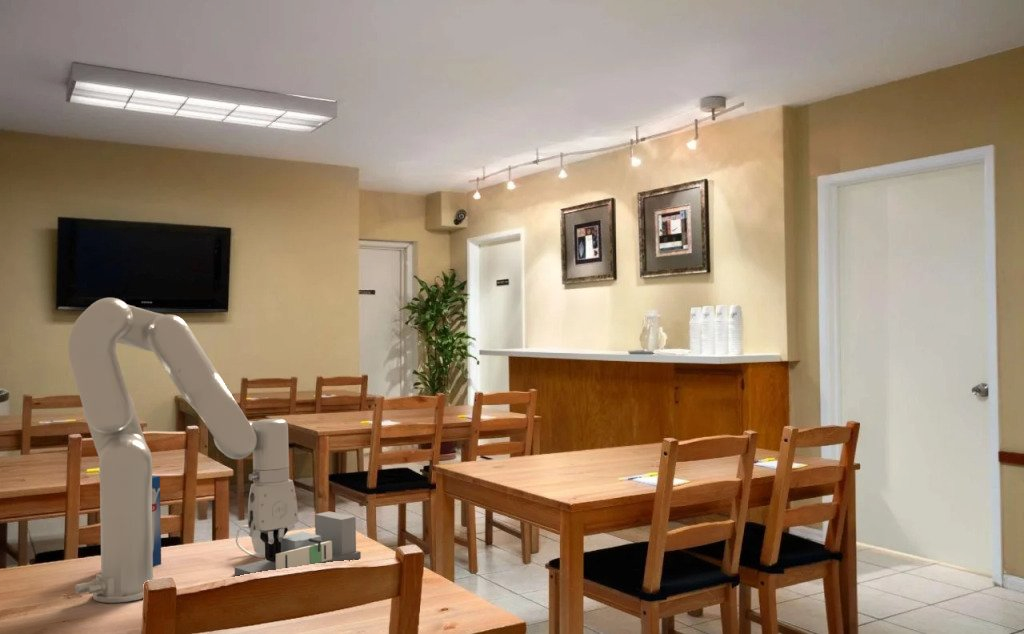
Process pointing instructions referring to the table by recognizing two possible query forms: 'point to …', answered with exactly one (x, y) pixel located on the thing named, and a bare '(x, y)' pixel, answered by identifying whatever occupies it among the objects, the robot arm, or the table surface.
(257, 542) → the cup
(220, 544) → the table surface
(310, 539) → the grey block
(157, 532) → the milk carton
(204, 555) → the table surface
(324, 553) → the frame
